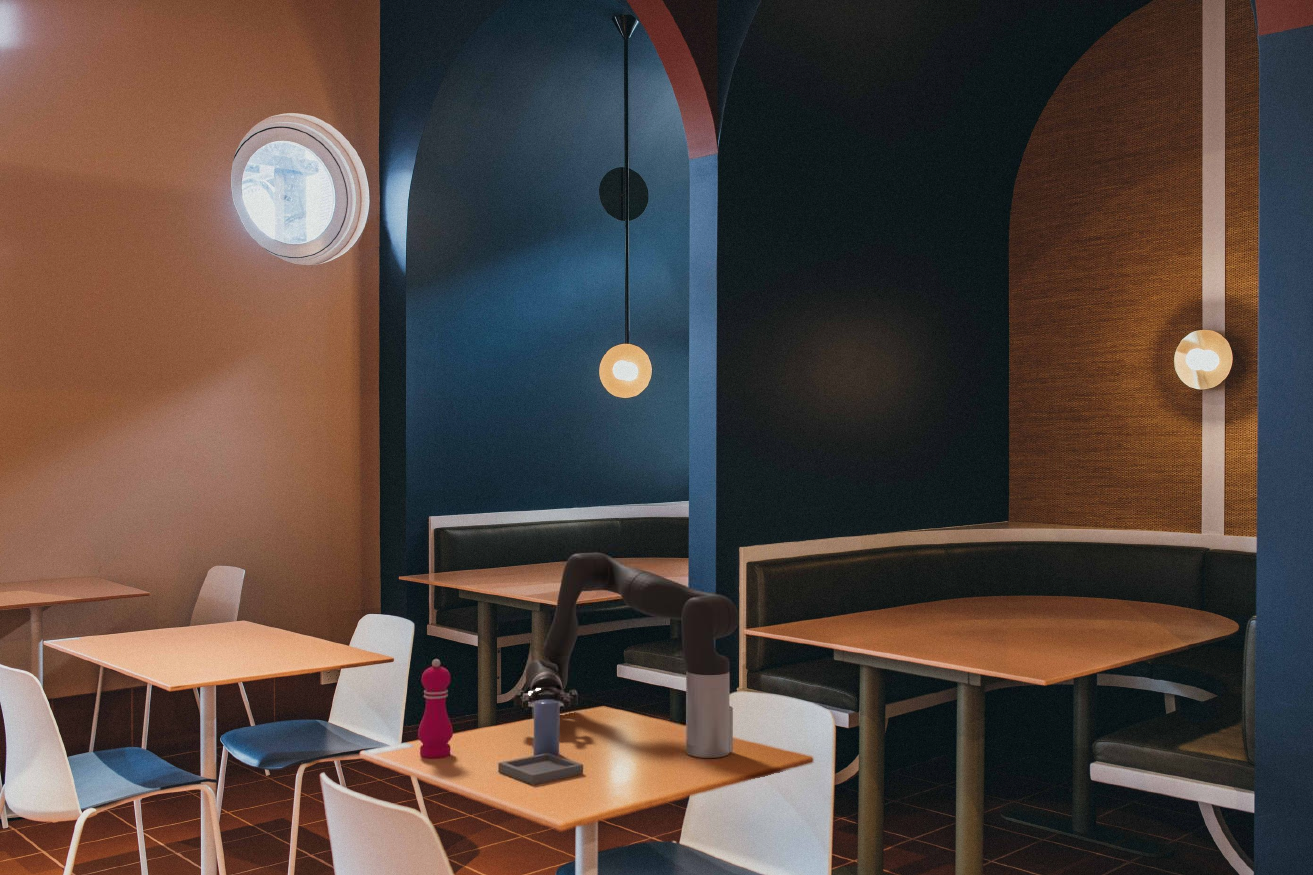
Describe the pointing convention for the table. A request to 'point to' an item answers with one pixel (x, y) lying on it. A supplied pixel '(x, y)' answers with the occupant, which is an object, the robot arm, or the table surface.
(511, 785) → the table surface
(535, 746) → the blue-grey cylinder
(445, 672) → the pepper mill
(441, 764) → the table surface
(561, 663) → the robot arm
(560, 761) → the tray
